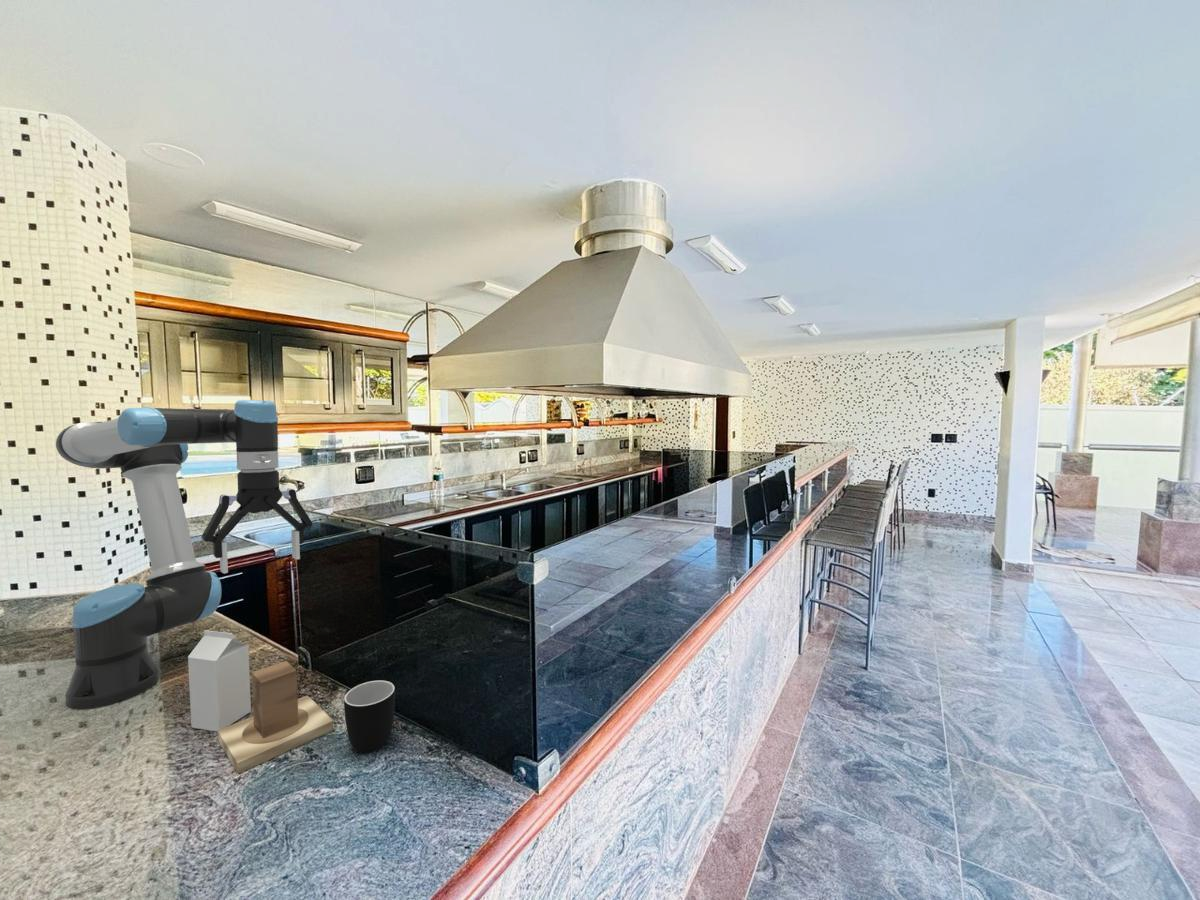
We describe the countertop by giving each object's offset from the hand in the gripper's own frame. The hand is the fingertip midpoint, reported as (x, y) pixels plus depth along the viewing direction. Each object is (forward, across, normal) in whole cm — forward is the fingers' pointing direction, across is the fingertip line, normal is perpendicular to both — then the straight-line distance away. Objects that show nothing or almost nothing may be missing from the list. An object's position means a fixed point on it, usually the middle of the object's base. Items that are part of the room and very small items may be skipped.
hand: (261, 564), depth 108 cm
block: (+28, -3, -17) cm, 33 cm away
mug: (+31, +8, -32) cm, 45 cm away
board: (+31, -3, -17) cm, 35 cm away
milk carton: (+31, -9, -3) cm, 32 cm away
